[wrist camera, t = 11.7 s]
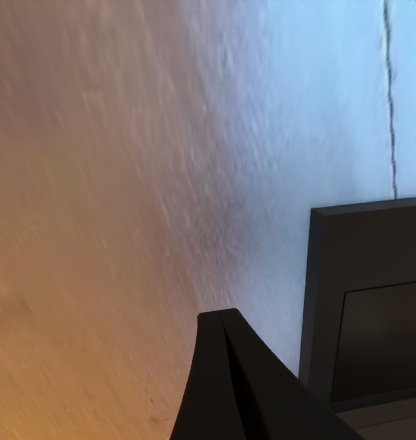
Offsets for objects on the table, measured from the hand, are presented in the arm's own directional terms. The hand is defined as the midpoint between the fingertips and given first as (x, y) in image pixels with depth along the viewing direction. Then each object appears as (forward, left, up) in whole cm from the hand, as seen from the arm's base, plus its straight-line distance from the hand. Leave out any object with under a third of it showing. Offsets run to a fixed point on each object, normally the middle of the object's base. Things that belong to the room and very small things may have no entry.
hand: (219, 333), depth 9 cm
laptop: (-10, -24, -10) cm, 28 cm away
